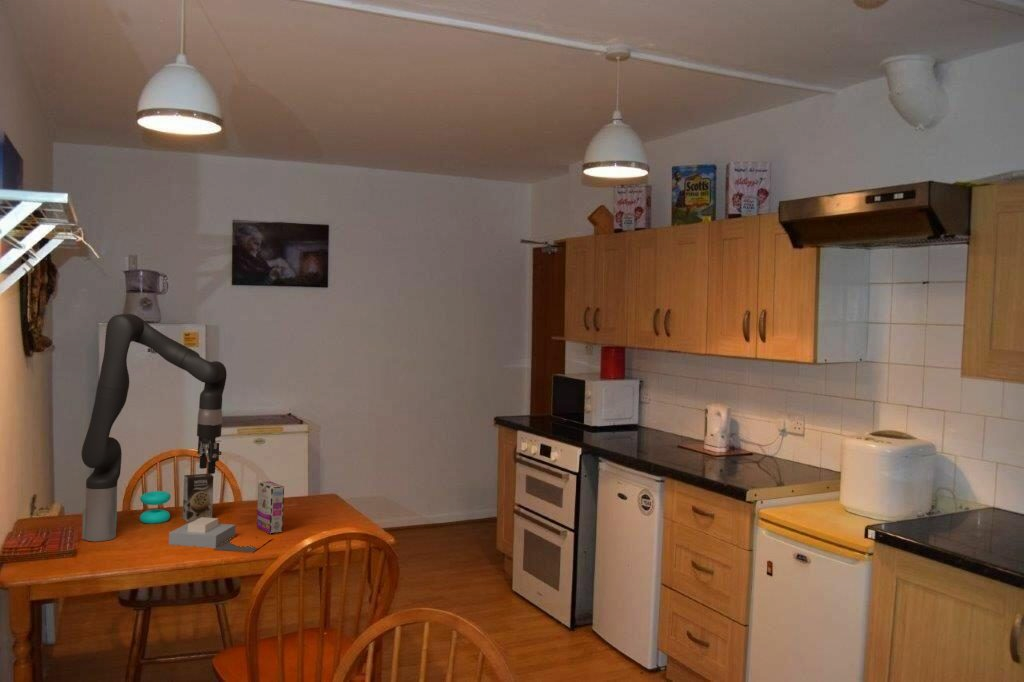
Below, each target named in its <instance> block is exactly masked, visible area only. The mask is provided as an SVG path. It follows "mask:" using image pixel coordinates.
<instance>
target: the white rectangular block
mask: <svg viewBox="0 0 1024 682" xmlns="http://www.w3.org/2000/svg"><path fill="white" fill-rule="evenodd" d="M188 523H189V522H188ZM218 524H219V518H217V517H216V518H215V517H212V518H205V517H201V518H199V519H197V520H195V521H192V522H191V523H189V524H188V532H200V533H206V532H207V531H209V530H211V529H213V528H215V527H217V526H218Z"/></svg>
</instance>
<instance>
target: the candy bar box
mask: <svg viewBox="0 0 1024 682" xmlns="http://www.w3.org/2000/svg"><path fill="white" fill-rule="evenodd" d="M284 498H285V486H284V485H281V484H279V483H275V482H273V481H270V480H269V481H262V482H258V483H257V509H256V510H257V513H256V516H257V517H256V528H257V527H258V528H260V529H262V530H264V531H266V532H265V533H267V532H268V533H267V534H269V533H270V534H269V535H272V534H271V533H277V532H282V531H283V529H284V526H283V525H284V502H285V500H284ZM258 528H257V529H258ZM260 529H259V530H260ZM262 530H261V531H262ZM264 531H263V532H264ZM282 533H283V532H282ZM277 534H278V533H277Z"/></svg>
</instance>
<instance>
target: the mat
mask: <svg viewBox="0 0 1024 682" xmlns="http://www.w3.org/2000/svg"><path fill="white" fill-rule="evenodd" d="M230 541H231V539H230V540H228V541H227V542H225V543H223V544H222V545H220V546H218V547H217V548H213V550H214V551H221V550H222V551H223V552H224V551H225V552H235V551H243V552H242V553H249V552H253V553H255V552H256V551H258V550H257V548H255V547H253V546H252V547H253V548H251V547H249V546H246V547H247V548H246V547H244V546H242V547H240V546H236V545H234V544H231V543H232V542H231V543H230ZM250 546H251V545H250ZM255 550H256V551H255ZM254 551H255V552H254Z"/></svg>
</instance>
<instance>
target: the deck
mask: <svg viewBox="0 0 1024 682" xmlns="http://www.w3.org/2000/svg"><path fill="white" fill-rule="evenodd" d="M189 523H191V522H187V523H185V524H184V525H181V526H180V527H178V528H175V529H174V530H171V531H170V532H168V545H169V546H178V545H180V547H182V546H183V547H193V546H196V547H195V548H207V547H209V548H211V549H215V548H216V547H219V546H220V545H221V544H222V543H223V544H224V542H225V541H227V540H228V541H229V539H230V538H232V537H233V536H236V524H227V523H218V526H217V527H215V528H213V529H211V530H209V531H207V532H206V533H200V532H188V524H189ZM233 538H234V537H233Z"/></svg>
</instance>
